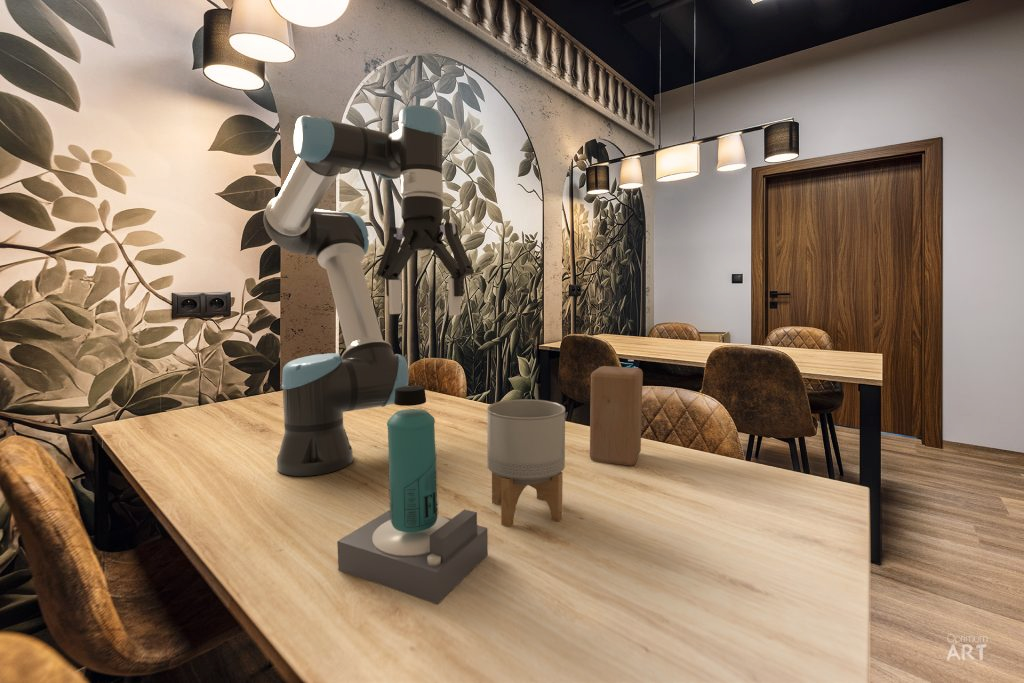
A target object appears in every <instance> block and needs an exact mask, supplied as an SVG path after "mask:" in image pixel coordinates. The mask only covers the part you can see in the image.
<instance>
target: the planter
mask: <svg viewBox="0 0 1024 683" xmlns="http://www.w3.org/2000/svg"><path fill="white" fill-rule="evenodd" d="M486 408H487V409H486V420H487V423H486V425H487V428H486V432H487V433H486V434H487V435H486V436H487V442H486V444H487V445H486V446H487V448H486V449H487V450H486V452H487V469H488V470H489V471H490V472H491V503H492V504H493V505H496V506H497V505H500V504H501V505H500V507H501V510H500V511H501V513H500V514H501V519H500V520H501V521H500V522H501V524H500V525H501V526H504V527H506V528H510V527H512V526H513V525H514V520H515V511H516V507H517V504H518V501H519V500H520V496H521V494H522V492H523V491H524V490H525V488H526V487H528V486H530V487H531V488H533V489H534V490H535V492H536V499H538V500H542V501H545V502H546V503H547V506H548V509H549V511H550V518H551V521H554V522H560V520H562V519H563V479H564V478H563V476H564V475H563V471H564V469H565V468H566V467H565V465H566V464H565V462H566V459H565V458H566V457H565V456H566V455H565V454H566V451H565V450H566V447H565V446H566V407H565V406H564V405H562V404H560V403H558V402H555V401H554V402H553V401H550V400H544V399H529V398H528V399H526V398H525V399H507V400H502V401H497V402H493V403H491V404H489V405H488V406H487V407H486Z"/></svg>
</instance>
